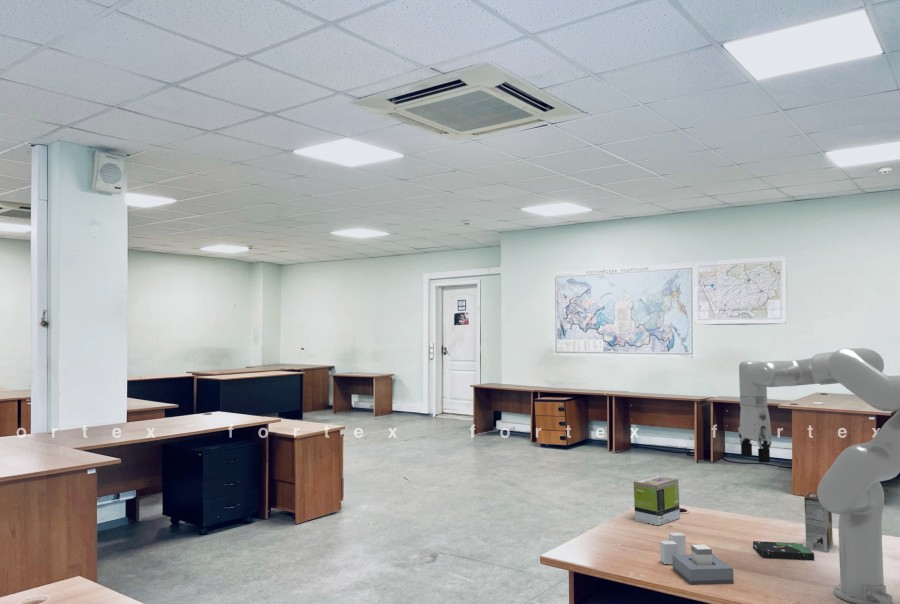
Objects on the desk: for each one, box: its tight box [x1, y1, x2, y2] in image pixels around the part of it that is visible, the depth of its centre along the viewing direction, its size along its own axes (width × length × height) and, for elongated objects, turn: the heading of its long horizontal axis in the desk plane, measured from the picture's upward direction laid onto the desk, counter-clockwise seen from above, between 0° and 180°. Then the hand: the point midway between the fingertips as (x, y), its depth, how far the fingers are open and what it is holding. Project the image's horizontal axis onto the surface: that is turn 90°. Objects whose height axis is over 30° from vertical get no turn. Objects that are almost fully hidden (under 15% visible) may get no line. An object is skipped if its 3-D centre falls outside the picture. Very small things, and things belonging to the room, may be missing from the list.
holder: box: [672, 553, 734, 585], centre depth 183 cm, size 12×12×4 cm
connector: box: [690, 543, 713, 565], centre depth 183 cm, size 4×4×7 cm
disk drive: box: [752, 540, 815, 561], centre depth 202 cm, size 10×3×15 cm
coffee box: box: [804, 491, 834, 553], centre depth 209 cm, size 9×6×16 cm
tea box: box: [633, 475, 681, 526], centre depth 241 cm, size 15×10×15 cm
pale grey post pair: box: [659, 532, 687, 565], centre depth 198 cm, size 11×10×6 cm
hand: (755, 459), depth 196 cm, fingers open, 9 cm apart
